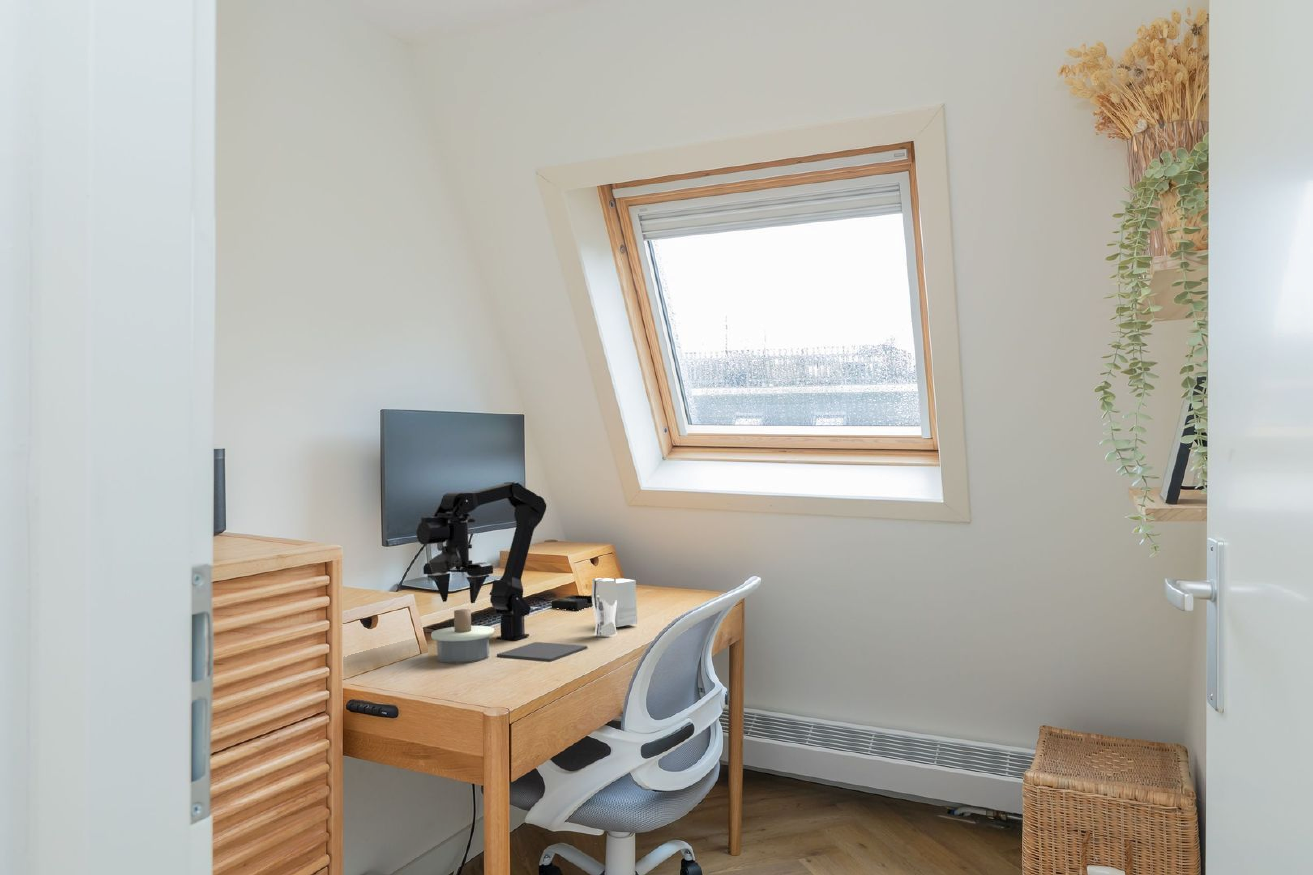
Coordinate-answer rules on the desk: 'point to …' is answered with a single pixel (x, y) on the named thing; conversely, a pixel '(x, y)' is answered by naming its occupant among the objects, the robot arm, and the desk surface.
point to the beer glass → (604, 606)
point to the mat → (542, 651)
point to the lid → (462, 629)
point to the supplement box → (626, 603)
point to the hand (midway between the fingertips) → (458, 602)
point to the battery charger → (573, 602)
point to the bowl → (463, 650)
